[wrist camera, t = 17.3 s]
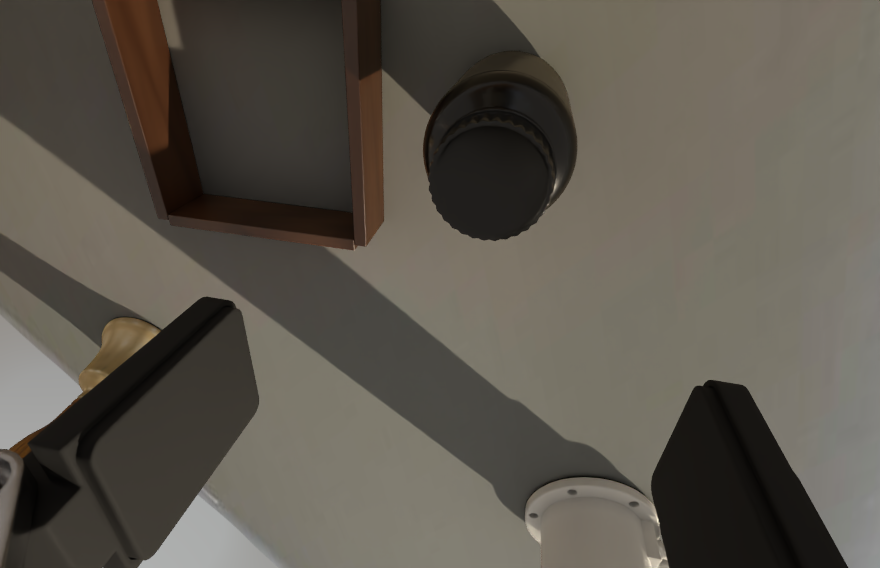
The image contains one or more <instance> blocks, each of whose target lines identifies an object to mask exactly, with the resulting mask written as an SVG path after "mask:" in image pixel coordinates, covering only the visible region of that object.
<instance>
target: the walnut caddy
mask: <svg viewBox="0 0 880 568" xmlns="http://www.w3.org/2000/svg"><path fill="white" fill-rule="evenodd" d="M92 3H93V6H94V9H95V13H96V16H97V19H98V22H99V26H100V29H101V32H102V36H103V39H104V42H105V45H106V49H107V52H108V55H109V59H110V62H111V65H112V68H113V72H114V75H115V78H116V82H117V85H118V88H119V91H120V95H121V98H122V101H123V105H124V108H125V111H126V114H127V118H128V121H129V124H130V128H131V131H132V134H133V137H134V141H135V144H136V147H137V151H138V154H139V157H140V160H141V164H142V167H143V170H144V174H145V177H146V180H147V183H148V187H149V190H150V193H151V197H152V200H153V203H154V206H155V210H156V213H157V216H158V218H159V219H166V220H169V221H170V225H172V226H180V227H187V228H194V229H202V230H209V231H216V232H223V233H231V234H238V235H245V236H253V237H260V238H267V239H275V240H282V241H289V242H296V243H304V244H311V245H318V246H326V247H333V248H340V249H348V250H355V249H356V247H357V246H367V244H368V243H369V242H370V240H371V239H372V237H373V236H374V234H375V233H376V232H377V230H378V229H379V227H380V226H381V224H382V223H383V222H384V200H383V133H382V67H381V1H380V0H341V3H342V21H343V39H344V58H345V76H346V95H347V113H348V132H349V150H350V168H351V187H352V205H353V213H351V212H343V211H335V210H327V209H319V208H311V207H303V206H295V205H287V204H279V203H271V202H263V201H256V200H248V199H240V198H232V197H224V196H216V195H208V194H203V190H202V186H201V182H200V178H199V174H198V169H197V165H196V161H195V157H194V153H193V148H192V144H191V140H190V136H189V132H188V128H187V123H186V119H185V115H184V111H183V107H182V102H181V98H180V94H179V90H178V86H177V82H176V77H175V73H174V69H173V65H172V61H171V56H170V52H169V48H168V44H167V40H166V35H165V31H164V27H163V23H162V19H161V15H160V10H159V6H158V2H157V0H92Z"/></svg>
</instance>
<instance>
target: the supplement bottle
mask: <svg viewBox="0 0 880 568" xmlns="http://www.w3.org/2000/svg"><path fill="white" fill-rule="evenodd" d="M423 157H424V165H425V169H426V173H427V176H428V180H429V182H430V186H429V191H430V193H431V194H432V201H433V203H434V204H435V205H436V209H437V211H438V212H439V213H440V214H441V215H442V217H443V219H444V220H445V221H446V222H448V223H449V224H450V225H451V227H452V228H454V229H457V230H459V232H460V233H462V234H467V235H469V236H470V237H472V238H479V239H481V240H488V239H490V240H493V241H496V240H499V239H508V238H509V237H511V236H518V235H519V234H520V233H521V232H523V231H526V230H528V229H529V227H530V226H531V225H533V224H535V223H537V221H538V218H539V217H540V216H542V215H543V214H544V213H545V210H546V209H548V208H549V207H550V206H551V205H552V204H553V203H554V202H555V201H556V200H557V199H558V198H559V197H560V195H561V194H562V193H563V191H564V190H565V188H566V187H567V185H568V183H569V181H570V179H571V176H572V174H573V171H574V167H575V163H576V157H577V135H576V129H575V124H574V120H573V115H572V111H571V106H570V102H569V98H568V94H567V91H566V88H565V86H564V84H563V82H562V80H561V78H560V76H559V75H558V74H557V72H556V71H555V70H554V69H553V68H552V67H551V66H550V65H549V64H548V63H547V62H545V61H544V60H542V59H541V58H539V57H537V56H535V55H532V54H530V53H526V52H521V51H504V52H499V53H496V54H492V55H490V56H488V57H486V58H484V59H482V60H480V61H479V62H478V63H476V64H475V65H474V66H473V67H471V68H470V69H469V70H468V71H467V72H466V73H465V74H464V75H463V76H462V77H461V78H460V80H459V81H458V82H457V83H456V84H455V85H454V86H453V87H452V88H451V89H450V90H449V91H448V92H447V93H446V95H445V96H444V97H443V98H442V99H441V101H440V102H439V103H438V105H437V106H436V108H435V110H434V111H433V113H432V115H431V117H430V119H429V122H428V124H427V127H426V131H425V136H424V143H423Z"/></svg>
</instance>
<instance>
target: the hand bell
mask: <svg viewBox="0 0 880 568" xmlns="http://www.w3.org/2000/svg"><path fill="white" fill-rule="evenodd" d="M159 332H161V330H159V329H158V328H157V327H155V326H153V325H151V324H149V323H147V322H145V321H142V320H139V319H135V318H130V317H121V318H116V319H113V320H111V321H110V322H109V323H108V324H107V325H106V326H105V328H104V330H103V333H102V347H101V349H100V351H99V353H98V354H97V356H96V357H95V358H94V360H93V361H92V362H91V363H90V364H89V365H88V366H87V367H86V368H85V369H84V370H83V371H82V372H81V374H80V376H79V385H80V387H81V389H82V390H83V393H82V394H81V395H79V396H78V398H77V399H75V400H74V401H73V402H72V403H71V405H69V406H68V407H67V408H66V409H65V410H64V411H63V412H62V413H61V414H63V413H64V412H65V411H66V410H67V409H69V408H70V407H71V406H72V405H73V404H75V403H76V402H77V401H78V400H79V399H81V398H82V397H83V396H84V395H85V394H87V393H88V392H89V391H90V390H91V389H93V388H94V387H95V386H96V385H97V384H98V383H100V382H101V381H102V380H103V379H104V378H106V377H107V376H108V375H109V374H110V373H112V372H113V371H114V370H115V369H116V368H118V367H119V366H120V365H121V364H122V363H124V362H125V361H126V360H127V359H128V358H130V357H131V356H132V355H133V354H134V353H136V352H137V351H138V350H139V349H140V348H142V347H143V346H144V345H145V344H146V343H148V342H149V341H150V340H151V339H152V338H154V337H155V336H156V335H157V334H158V333H159ZM61 414H60V415H61ZM60 415H59V416H60ZM59 416H58V417H59ZM58 417H57V418H58ZM57 418H56V419H57ZM53 421H54V420H53ZM53 421H52V422H53ZM52 422H51V423H52ZM51 423H50V424H51ZM48 425H49V424H48ZM48 425H47V426H48ZM47 426H45V427H43V428H41V429H39V430H38V431H36V432H34V433H32V434H30V435H28V436H27V437H25V438H24V439H23V440H21V441H19V442H18V443H17V444H15V445H14V446H13V447H11V448H10V449H9V450H10V451H13V452H16V453H18V454H19V456H20V457H21V458H22V459H23V458H24V457H25V456H26V455H27V454H29V453H30V452H31V451H32V450H31V449H30V447H29V445H28V444H27V443H28V442H29V441H30V440H31V439H33V438H34V437H35V436H36V435H37V434H39V433H40V432H41V431H42V430H43V429H45V428H46V427H47Z"/></svg>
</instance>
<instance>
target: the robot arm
mask: <svg viewBox="0 0 880 568" xmlns="http://www.w3.org/2000/svg"><path fill="white" fill-rule="evenodd" d="M258 405H259V395H258V390H257V385H256V380H255V375H254V370H253V366H252V361H251V356H250V351H249V346H248V341H247V336H246V331H245V326H244V321H243V316H242V313H241V311H240V310H239V309H237V308H236V306H235V304H234V303H233V302H232V301H229V300H223V299H217V298H211V297H202V298H201V299H199V300H198V301H197V302H195V303H194V304H193V305H192V306H191V307H189V308H188V309H187V310H186V311H185V312H183V313H182V314H181V315H180V316H179V317H177V318H176V319H175V320H174V321H173V322H171V323H170V324H169V325H168V326H167V327H165V328H164V329H163V330H162V331H161V332H159V333H158V334H157V335H156V336H155V337H154V338H152V339H151V340H150V341H149V342H148V343H146V344H145V345H144V346H143V347H142V348H140V349H139V350H138V351H137V352H136V353H134V354H133V355H132V356H131V357H130V358H128V359H127V360H126V361H125V362H124V363H122V364H121V365H120V366H119V367H118V368H116V369H115V370H114V371H113V372H112V373H110V374H109V375H108V376H107V377H106V378H104V379H103V380H102V381H101V382H100V383H98V384H97V385H96V386H95V387H94V388H93V389H91V390H90V391H89V392H88V393H87V394H85V395H84V396H83V397H82V398H81V399H79V400H78V401H77V402H76V403H75V404H73V405H72V406H71V407H70V408H69V409H67V410H66V411H65V412H64V413H63V414H61V415H60V416H59V417H58V418H57V419H55V420H54V421H53V422H52V423H51V424H49V425H48V426H47V427H46V428H45V429H43V430H42V431H41V432H40V433H39V434H37V435H36V436H35V437H34V438H33V439H31V440H30V441H29V442H28V443H27V444H28V445H29V447H30V449H31V450H32V451H31V452H30V453H29V454H27V455H26V456H25V457H24V458H23V459H22V458H21V457H20V456H19V454H18V453H16V452H13V451H10V450H7V449H0V568H137V567H138V566H139V565H140V564H141V562H142V561H143V560H147V559H149V558H151V557H152V556H153V555H154V554H155V553H156V552H157V550H158V549H159V548H160V546H161V545H162V543H163V542H164V541H165V539H166V538H167V536H168V535H169V534H170V532H171V531H172V529H173V528H174V527H175V525H176V524H177V522H178V521H179V520H180V518H181V517H182V515H183V514H184V512H185V511H186V510H187V508H188V507H189V506H190V504H191V503H192V501H193V500H194V498H195V497H196V496H197V494H198V493H199V492H200V490H201V489H202V487H203V486H204V485H205V483H206V482H207V480H208V479H209V478H210V476H211V475H212V473H213V472H214V471H215V469H216V468H217V466H218V465H219V464H220V462H221V461H222V459H223V458H224V457H225V455H226V454H227V452H228V451H229V450H230V448H231V447H232V445H233V444H234V443H235V441H236V440H237V438H238V437H239V436H240V434H241V433H242V431H243V430H244V429H245V427H246V426H247V424H248V423H249V422H250V420H251V419H252V417H253V416H254V414H255V413H256V411H257V408H258ZM651 491H652V496H653V500H654V505H655V507H654V505H653V503H652V502H651V501H650V500H649V499H648V498H647V497H646V496H644V495H643V494H641V493H640V492H638V491H637V490H635V489H633V488H631V487H629V486H626V485H624V484H621V483H618V482H615V481H612V480H606V479H601V478H591V477H576V478H568V479H562V480H558V481H555V482H552V483H549V484H547V485H545V486H543V487H541V488H539V489H538V490H537V491H536V492H534V493H533V494H532V495H531V497H530V498H529V500H528V501H527V504H526V507H525V523H526V527H527V529H528V531H529V533H530V534H531V535H532V536H533V538H534V539H535V540H536V541H537V542H539V543H540V544H541V568H848V566H847V565H846V563H845V561H844V559H843V557H842V556H841V554H840V552H839V550H838V548H837V547H836V545H835V543H834V541H833V539H832V538H831V536H830V534H829V532H828V530H827V529H826V527H825V525H824V523H823V521H822V520H821V518H820V516H819V514H818V512H817V511H816V509H815V507H814V505H813V503H812V502H811V500H810V498H809V496H808V494H807V493H806V491H805V489H804V487H803V485H802V484H801V482H800V480H799V478H798V477H797V476H796V474H795V473H794V472H793V470H792V469H791V467H790V465H789V463H788V461H787V460H786V458H785V456H784V454H783V452H782V451H781V449H780V447H779V445H778V443H777V441H776V440H775V438H774V436H773V434H772V432H771V431H770V429H769V427H768V425H767V423H766V421H765V420H764V418H763V416H762V414H761V412H760V411H759V409H758V407H757V405H756V403H755V402H754V400H753V398H752V396H751V394H750V392H749V391H748V389H747V388H746V387H745V386H743V385H739V384H733V383H727V382H721V381H715V380H708V381H707V382H705V384H704V385H703V386H696V387H695V388H694V389H693V391H692V393H691V395H690V397H689V399H688V401H687V403H686V405H685V407H684V410H683V412H682V414H681V416H680V418H679V420H678V422H677V424H676V426H675V429H674V431H673V433H672V435H671V437H670V439H669V441H668V443H667V445H666V448H665V450H664V452H663V454H662V456H661V458H660V460H659V462H658V464H657V467H656V469H655V471H654V473H653V476H652V481H651ZM660 533H661V535H662V539H663V543H662V542H661V540H659V537H660Z"/></svg>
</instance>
